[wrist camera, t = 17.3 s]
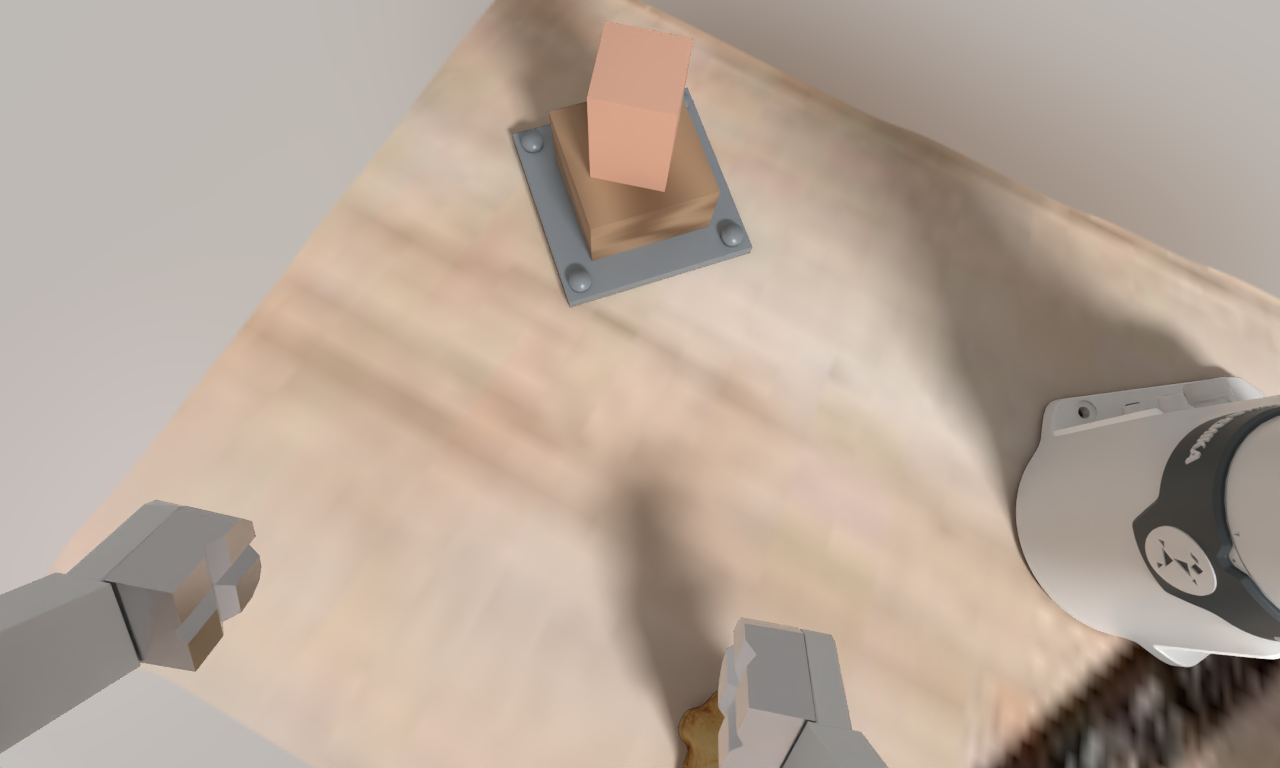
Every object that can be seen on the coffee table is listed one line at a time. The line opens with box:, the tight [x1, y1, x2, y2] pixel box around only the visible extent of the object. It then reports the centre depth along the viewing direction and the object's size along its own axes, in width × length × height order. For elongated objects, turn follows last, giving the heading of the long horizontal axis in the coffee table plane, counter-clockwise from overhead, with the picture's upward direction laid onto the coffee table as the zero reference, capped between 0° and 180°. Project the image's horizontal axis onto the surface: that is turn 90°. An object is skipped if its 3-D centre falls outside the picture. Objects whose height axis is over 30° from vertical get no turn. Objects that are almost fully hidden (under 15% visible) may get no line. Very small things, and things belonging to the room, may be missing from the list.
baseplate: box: [513, 88, 752, 307], centre depth 49 cm, size 14×14×2 cm
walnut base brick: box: [549, 100, 720, 261], centre depth 46 cm, size 9×9×5 cm
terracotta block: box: [587, 21, 693, 192], centre depth 40 cm, size 5×5×8 cm
